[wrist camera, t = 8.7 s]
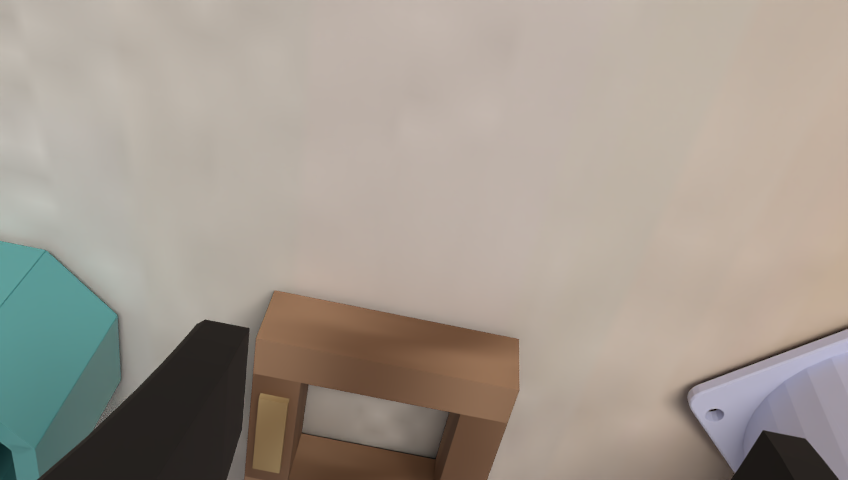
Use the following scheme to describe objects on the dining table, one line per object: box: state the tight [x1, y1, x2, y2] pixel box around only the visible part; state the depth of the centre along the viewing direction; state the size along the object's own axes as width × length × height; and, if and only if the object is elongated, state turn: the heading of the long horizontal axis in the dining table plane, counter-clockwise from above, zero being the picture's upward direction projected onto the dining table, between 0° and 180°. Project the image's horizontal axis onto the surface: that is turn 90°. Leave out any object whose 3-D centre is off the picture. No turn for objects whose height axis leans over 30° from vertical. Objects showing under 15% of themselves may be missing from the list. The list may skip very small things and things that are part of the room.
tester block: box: [244, 291, 519, 480], centre depth 24 cm, size 7×7×2 cm
